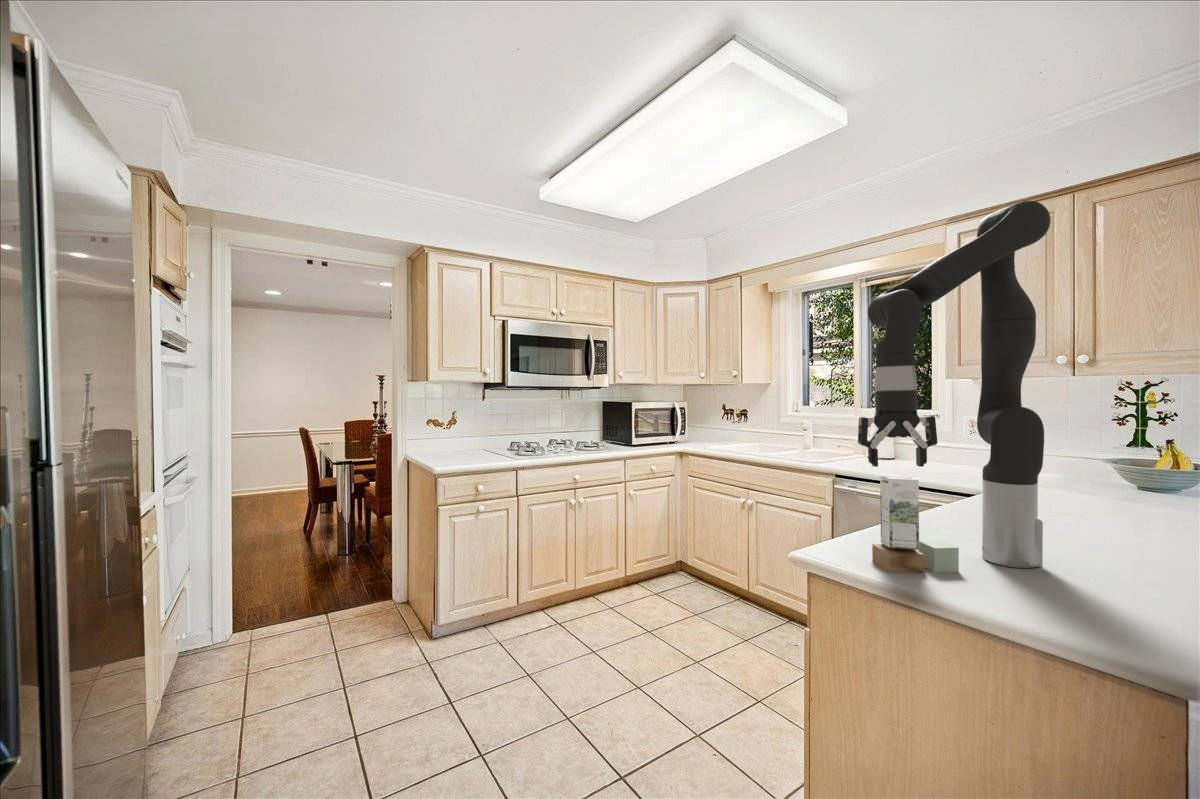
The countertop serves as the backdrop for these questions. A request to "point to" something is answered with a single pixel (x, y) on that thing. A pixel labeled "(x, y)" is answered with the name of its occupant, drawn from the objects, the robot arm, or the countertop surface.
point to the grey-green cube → (940, 556)
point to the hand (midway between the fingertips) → (897, 466)
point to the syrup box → (899, 512)
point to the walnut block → (898, 559)
